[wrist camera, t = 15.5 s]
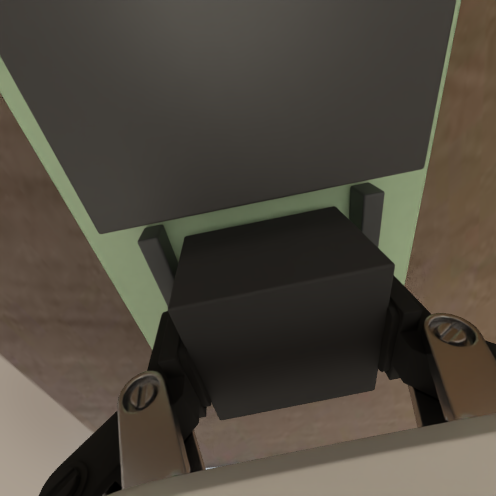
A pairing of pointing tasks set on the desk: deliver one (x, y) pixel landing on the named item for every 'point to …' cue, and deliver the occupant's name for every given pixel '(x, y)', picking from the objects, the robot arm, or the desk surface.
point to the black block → (282, 310)
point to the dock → (225, 119)
